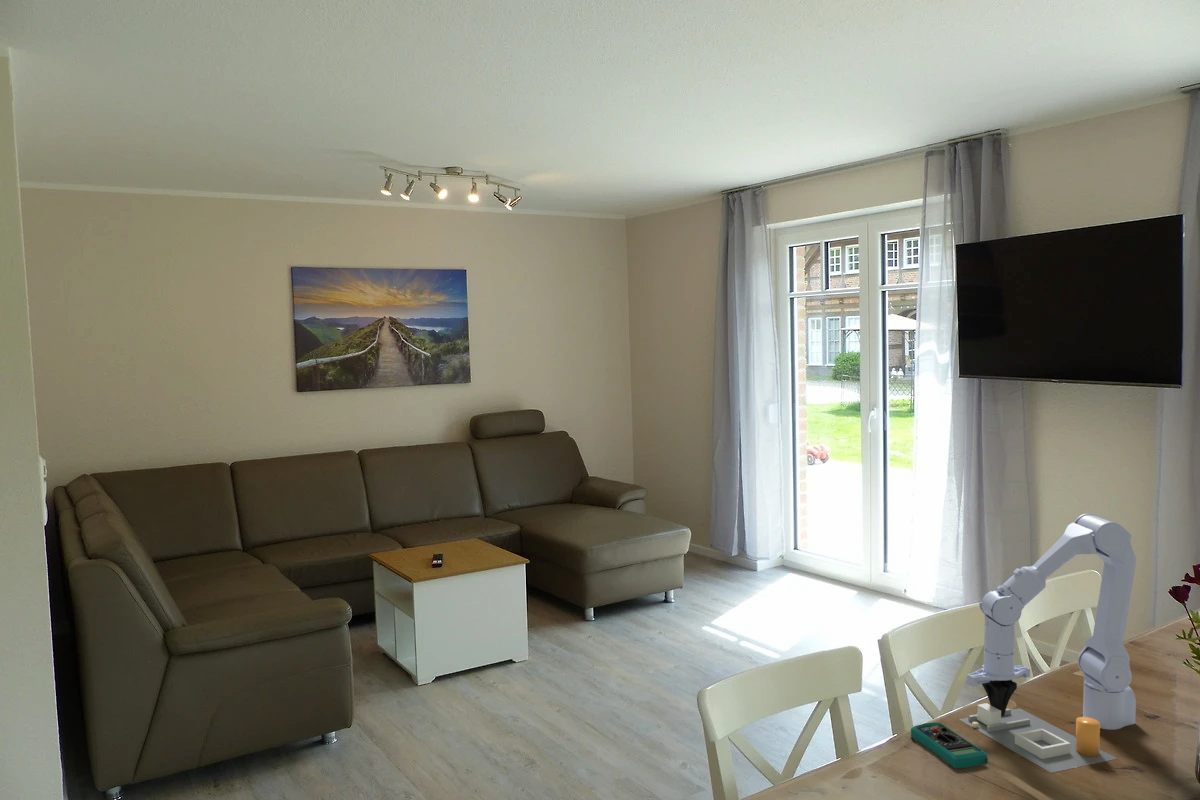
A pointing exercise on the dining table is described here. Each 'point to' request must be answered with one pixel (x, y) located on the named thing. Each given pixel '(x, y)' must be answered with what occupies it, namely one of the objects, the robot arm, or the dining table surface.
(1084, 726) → the cap
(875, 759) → the dining table surface
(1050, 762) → the panel
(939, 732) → the digital multimeter
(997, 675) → the robot arm
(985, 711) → the block
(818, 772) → the dining table surface
